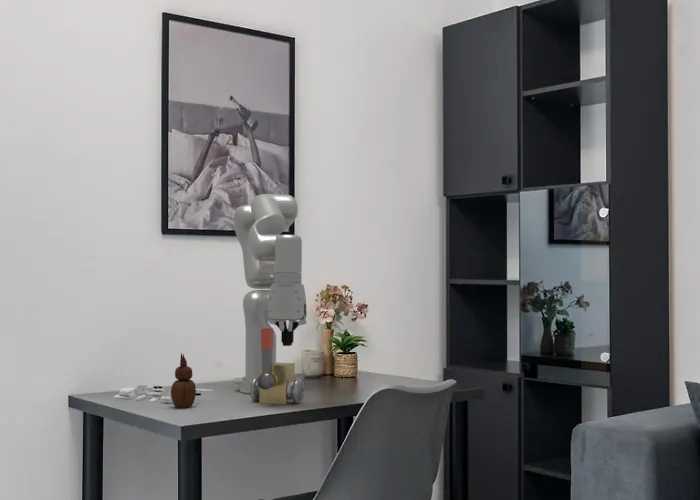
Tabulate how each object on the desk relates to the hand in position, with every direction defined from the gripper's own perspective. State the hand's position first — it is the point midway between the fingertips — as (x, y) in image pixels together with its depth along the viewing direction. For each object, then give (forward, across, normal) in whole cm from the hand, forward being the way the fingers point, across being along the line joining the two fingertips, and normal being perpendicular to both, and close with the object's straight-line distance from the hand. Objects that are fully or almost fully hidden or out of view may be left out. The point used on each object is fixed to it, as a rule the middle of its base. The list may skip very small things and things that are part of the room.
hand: (287, 345), depth 247 cm
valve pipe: (+17, -6, +7) cm, 19 cm away
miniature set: (+18, -41, +2) cm, 45 cm away
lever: (+12, -6, 0) cm, 14 cm away
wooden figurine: (+17, -27, -9) cm, 33 cm away
